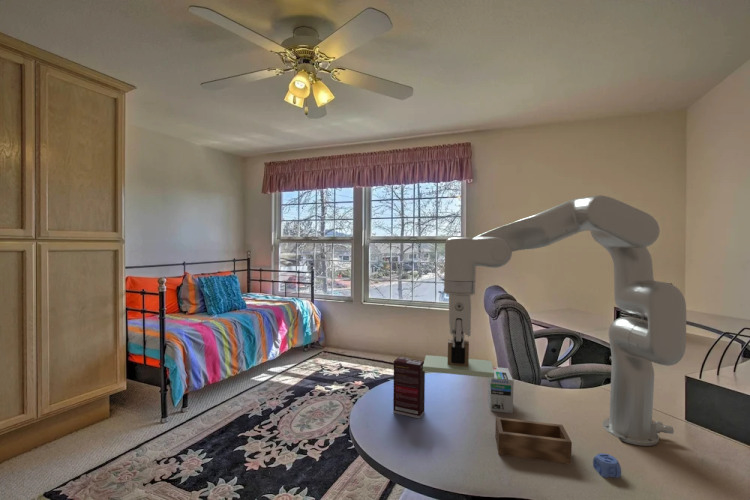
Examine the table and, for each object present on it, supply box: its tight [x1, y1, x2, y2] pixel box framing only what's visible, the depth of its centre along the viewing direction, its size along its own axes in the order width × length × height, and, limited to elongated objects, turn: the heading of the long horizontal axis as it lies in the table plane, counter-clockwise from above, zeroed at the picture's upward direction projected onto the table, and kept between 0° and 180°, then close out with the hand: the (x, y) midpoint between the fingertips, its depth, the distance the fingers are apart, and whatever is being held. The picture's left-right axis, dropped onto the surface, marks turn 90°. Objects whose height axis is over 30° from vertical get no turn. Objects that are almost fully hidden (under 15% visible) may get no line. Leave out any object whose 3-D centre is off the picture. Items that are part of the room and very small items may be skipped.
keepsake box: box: [494, 416, 573, 465], centre depth 91 cm, size 16×8×6 cm, turn 77°
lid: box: [423, 338, 494, 378], centre depth 92 cm, size 17×9×7 cm, turn 77°
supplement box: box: [392, 356, 426, 420], centre depth 111 cm, size 9×5×16 cm, turn 65°
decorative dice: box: [592, 452, 622, 479], centre depth 83 cm, size 4×4×4 cm
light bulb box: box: [486, 366, 515, 414], centre depth 116 cm, size 11×7×11 cm, turn 168°
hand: (458, 359), depth 93 cm, fingers closed on lid, 3 cm apart
